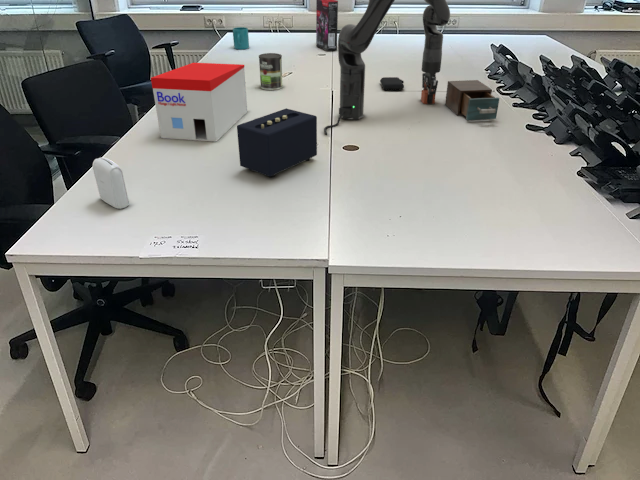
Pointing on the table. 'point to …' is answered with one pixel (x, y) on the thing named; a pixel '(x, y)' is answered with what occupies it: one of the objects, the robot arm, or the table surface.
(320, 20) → the graphics card box
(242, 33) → the cup
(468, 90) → the box
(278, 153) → the speaker
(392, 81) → the carrying case
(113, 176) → the photo printer
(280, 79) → the coffee can
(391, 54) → the table surface
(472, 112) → the drawer
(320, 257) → the table surface
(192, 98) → the bookstore
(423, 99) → the block
